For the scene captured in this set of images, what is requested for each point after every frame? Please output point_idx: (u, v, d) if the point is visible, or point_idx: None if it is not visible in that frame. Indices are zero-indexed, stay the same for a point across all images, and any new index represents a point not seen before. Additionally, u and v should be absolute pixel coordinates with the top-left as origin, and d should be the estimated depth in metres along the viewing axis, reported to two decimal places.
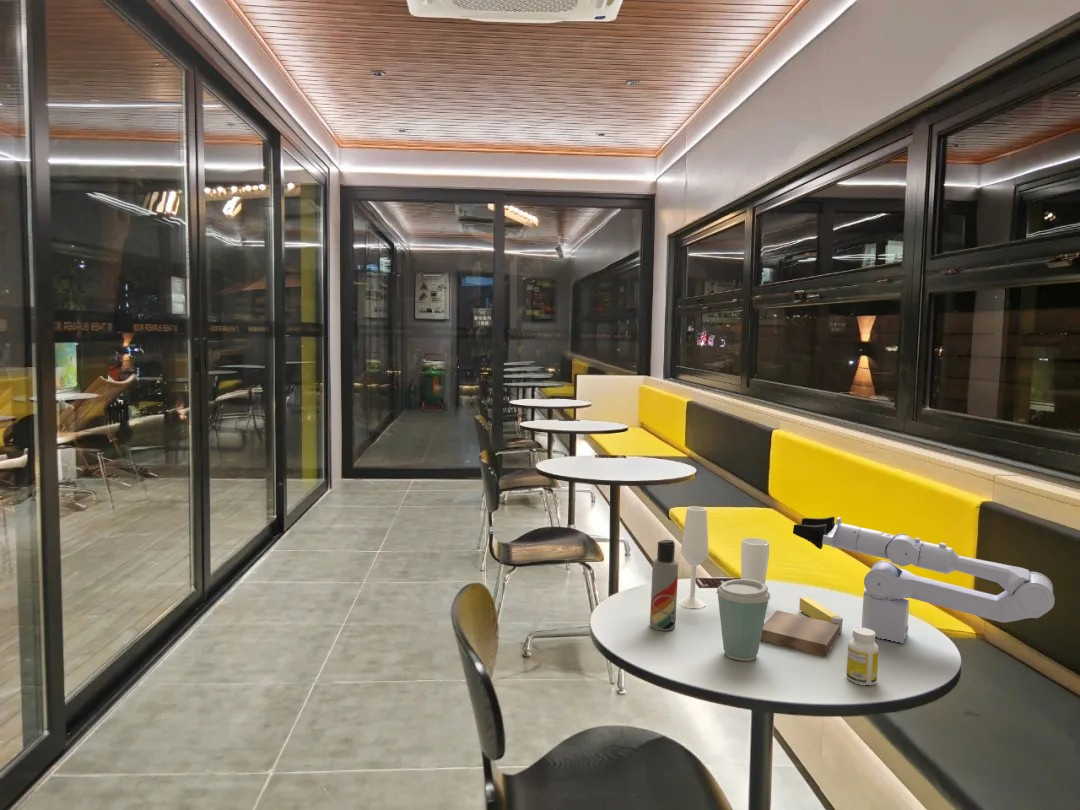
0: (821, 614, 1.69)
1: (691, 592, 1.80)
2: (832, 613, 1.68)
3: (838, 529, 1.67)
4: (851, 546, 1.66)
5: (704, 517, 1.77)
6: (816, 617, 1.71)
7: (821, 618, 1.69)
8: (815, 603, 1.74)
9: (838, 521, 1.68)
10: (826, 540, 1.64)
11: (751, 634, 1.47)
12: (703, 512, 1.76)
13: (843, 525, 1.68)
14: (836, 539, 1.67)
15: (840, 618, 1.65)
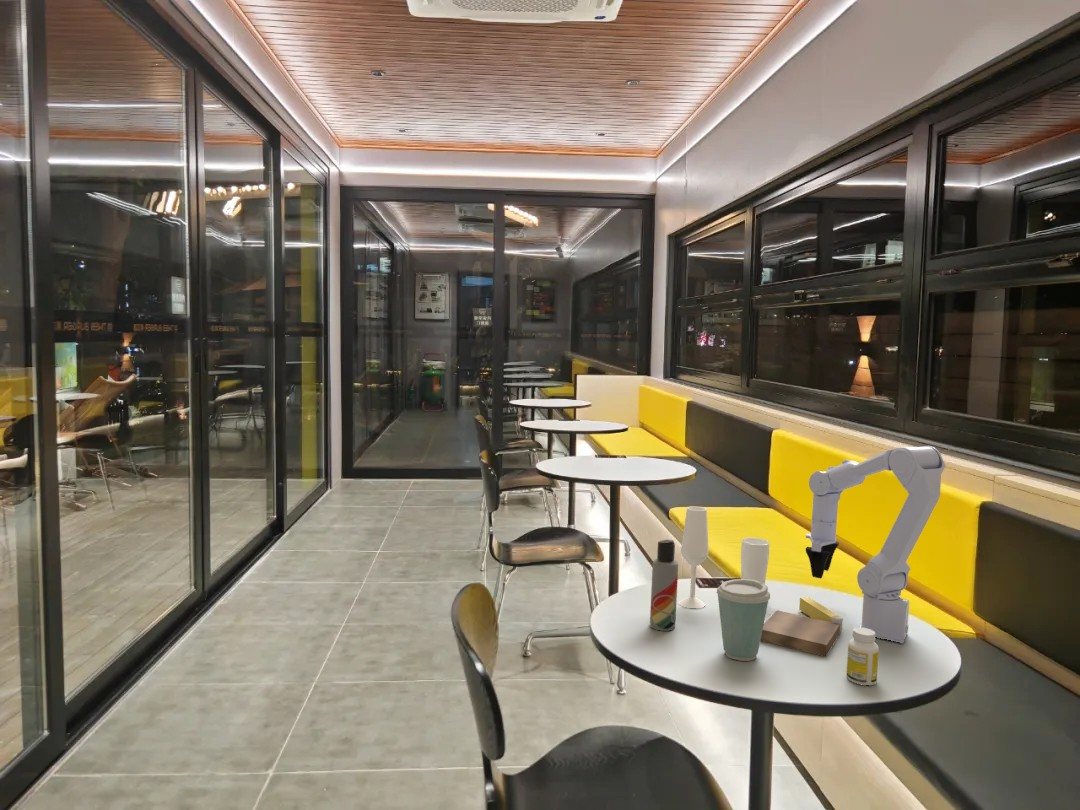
0: (821, 614, 1.69)
1: (691, 592, 1.80)
2: (832, 613, 1.68)
3: (813, 536, 1.79)
4: (827, 525, 1.77)
5: (704, 517, 1.77)
6: (816, 617, 1.71)
7: (821, 618, 1.69)
8: (815, 603, 1.74)
9: (807, 536, 1.81)
10: (815, 547, 1.74)
11: (751, 634, 1.47)
12: (703, 512, 1.76)
13: (811, 532, 1.81)
14: (822, 538, 1.77)
15: (840, 618, 1.65)
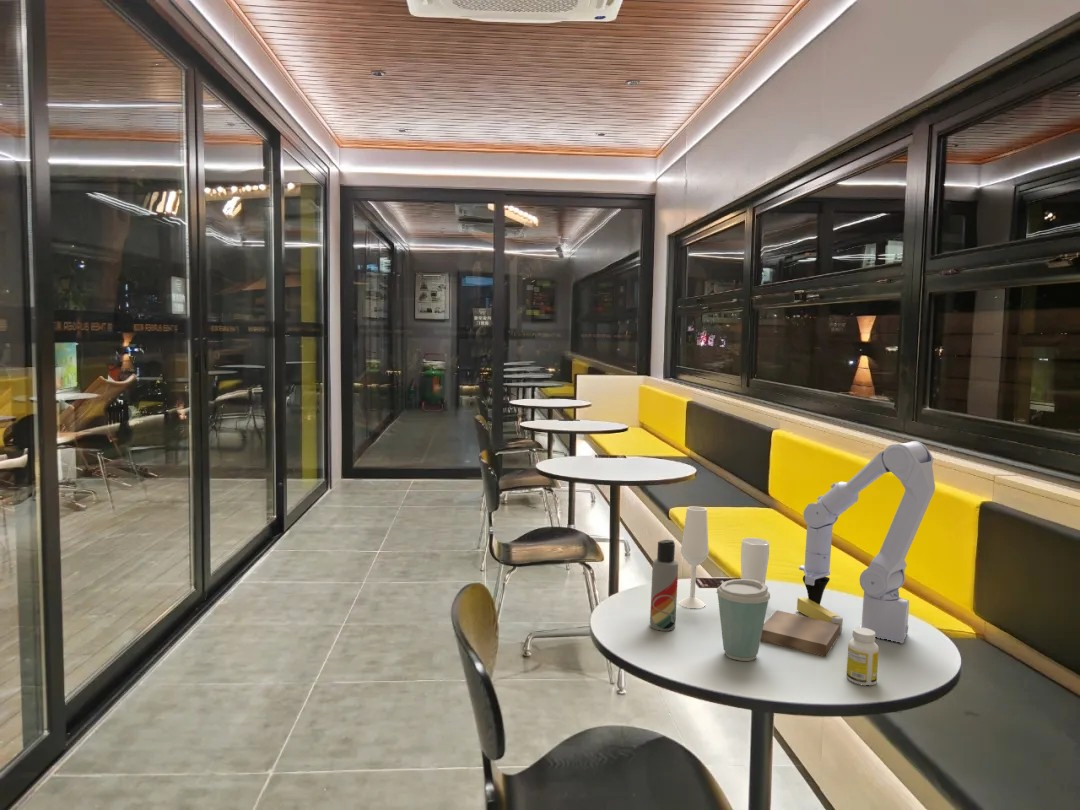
0: (821, 614, 1.69)
1: (691, 592, 1.80)
2: (831, 613, 1.68)
3: (806, 569, 1.76)
4: (820, 558, 1.74)
5: (704, 517, 1.77)
6: (815, 617, 1.71)
7: (820, 618, 1.69)
8: (813, 603, 1.74)
9: (801, 568, 1.78)
10: (809, 581, 1.71)
11: (751, 634, 1.47)
12: (703, 512, 1.76)
13: None
14: (815, 571, 1.74)
15: (840, 618, 1.65)
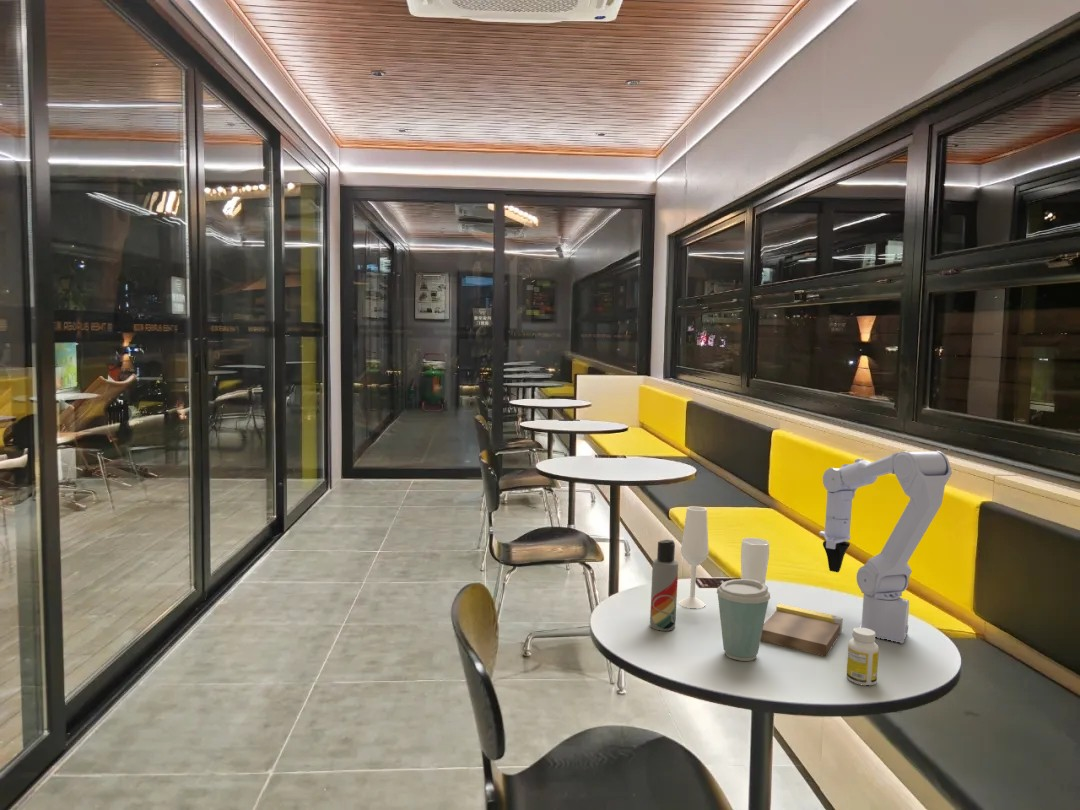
0: (817, 618, 1.67)
1: (691, 592, 1.80)
2: (825, 614, 1.67)
3: (827, 534, 1.78)
4: (841, 523, 1.76)
5: (704, 517, 1.77)
6: None
7: None
8: (796, 608, 1.70)
9: (821, 533, 1.80)
10: (830, 544, 1.73)
11: (751, 634, 1.47)
12: (703, 512, 1.76)
13: (825, 529, 1.80)
14: (836, 536, 1.77)
15: (839, 617, 1.66)
